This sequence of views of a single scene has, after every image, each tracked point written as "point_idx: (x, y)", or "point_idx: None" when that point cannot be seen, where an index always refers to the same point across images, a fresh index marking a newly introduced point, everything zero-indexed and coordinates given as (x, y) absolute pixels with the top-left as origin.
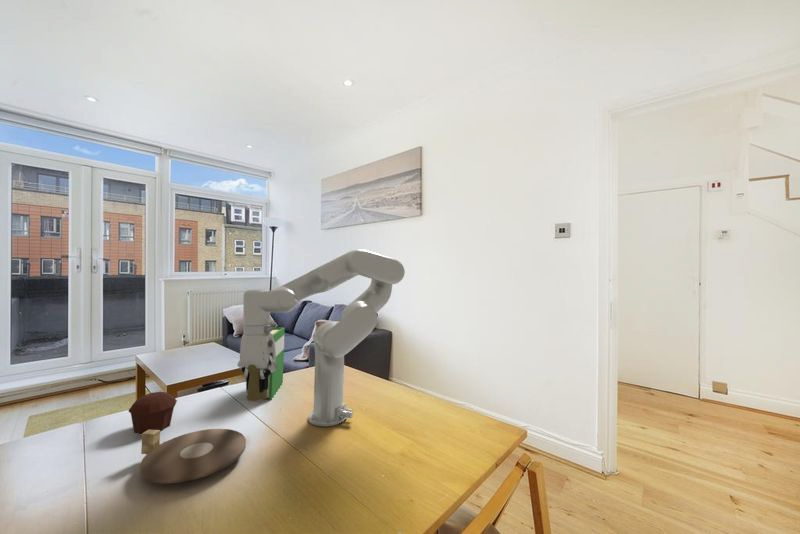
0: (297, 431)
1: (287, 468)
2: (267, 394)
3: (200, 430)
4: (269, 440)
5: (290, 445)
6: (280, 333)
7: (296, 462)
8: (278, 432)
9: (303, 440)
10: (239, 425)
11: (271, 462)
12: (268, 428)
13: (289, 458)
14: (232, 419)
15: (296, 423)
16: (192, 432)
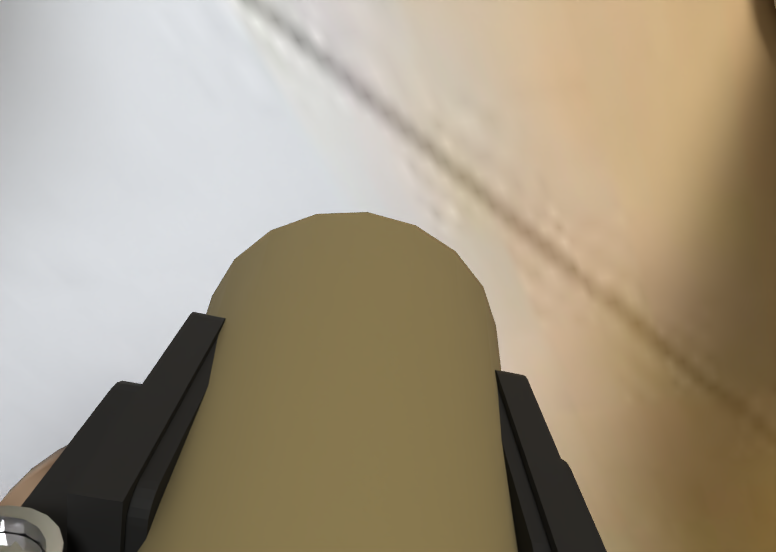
0: (696, 197)
1: (716, 547)
2: (492, 325)
3: (43, 470)
4: (528, 341)
5: (685, 374)
6: None
7: (753, 505)
8: (551, 233)
9: (761, 310)
10: (174, 169)
11: (623, 522)
12: (446, 184)
13: (709, 483)
14: (20, 65)
15: (659, 59)
16: (14, 499)
